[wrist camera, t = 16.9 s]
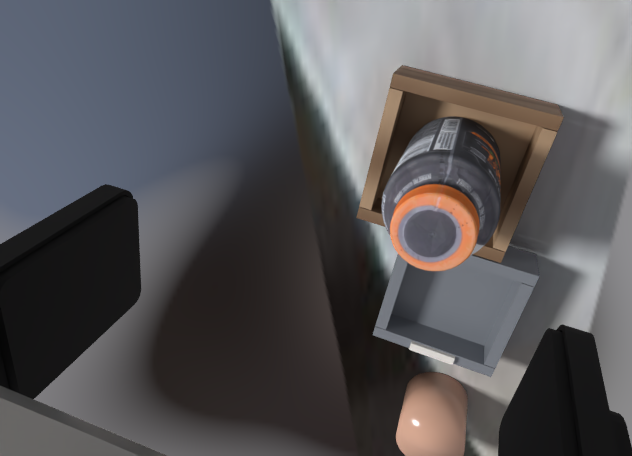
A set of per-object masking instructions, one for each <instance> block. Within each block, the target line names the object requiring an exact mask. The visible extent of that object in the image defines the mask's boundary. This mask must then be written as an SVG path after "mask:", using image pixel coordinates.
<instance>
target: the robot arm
mask: <svg viewBox="0 0 632 456" xmlns="http://www.w3.org/2000/svg"><path fill="white" fill-rule="evenodd" d="M138 228H139V226H138V205H137V202H136V200H135V199H133V196H132V194H131V193H130V192H129V191H127V190H124V189H121V188H118V187H114V186H111V185H106V184H105V185H103V186H100V187H99V188H97V189H95V190H94V191H92V192H90V193H88V194H87V195H85V196H83V197H82V198H80V199H78V200H76V201H74V202H73V203H71V204H69V205H68V206H66V207H64V208H62V209H61V210H59V211H57V212H55V213H54V214H52V215H50V216H49V217H47V218H45V219H43V220H42V221H40V222H38V223H36V224H35V225H33V226H31V227H30V228H28V229H26V230H24V231H23V232H21V233H19V234H17V235H16V236H14V237H12V238H10V239H9V240H7V241H5V242H4V243H2V244H0V456H167V455H165V454H162V453H160V452H157V451H155V450H153V449H150V448H148V447H146V446H143V445H141V444H139V443H136V442H134V441H132V440H129V439H127V438H124V437H122V436H120V435H117V434H115V433H113V432H110V431H108V430H105V429H103V428H101V427H98V426H96V425H93V424H91V423H89V422H86V421H84V420H82V419H79V418H77V417H74V416H72V415H69V414H67V413H65V412H62V411H59V410H57V409H55V408H53V407H50V406H48V405H45V404H43V403H40V402H38V401H36V400H33V399H34V398H35V397H36V396H37V395H39V394H40V393H41V392H42V391H43V390H44V389H45V388H46V387H47V386H48V385H49V384H50V383H51V382H52V381H53V380H55V378H57V377H58V376H59V375H60V374H61V373H62V372H63V371H64V370H65V369H66V368H67V367H68V366H69V365H70V364H72V363H73V362H74V361H75V360H76V359H77V358H78V357H79V356H80V355H81V354H82V353H83V352H84V351H85V350H86V349H88V347H90V346H91V345H92V344H93V343H94V342H95V341H96V340H97V339H98V338H99V337H100V336H101V335H102V334H103V333H105V332H106V331H107V330H108V329H109V328H110V327H111V326H112V325H113V324H114V323H115V322H116V321H117V320H118V319H119V318H120V317H122V316H123V315H124V314H125V313H126V312H127V311H128V310H129V309H130V308H131V307H132V306H133V305H134V304H135V303H136V302H137V300H138V298H139V296H140V292H141V278H140V276H141V275H140V253H139V229H138ZM498 456H632V447H631V443H630V439H629V435H628V430H627V426H626V423H625V421H624V418H623V417H622V416H621V415H620V414H619V413H616V412H612V411H610V410H609V406H608V401H607V396H606V391H605V386H604V382H603V377H602V373H601V367H600V363H599V358H598V353H597V348H596V344H595V339H594V336H593V335H592V334H591V333H588V332H585V331H581V330H578V329H575V328H572V327H568V326H565V325H560V326H559V327H558V329H557V330H553V329H550V328H549V329H547V330H546V332H545V334H544V336H543V338H542V340H541V342H540V344H539V346H538V348H537V350H536V352H535V354H534V356H533V358H532V360H531V362H530V364H529V366H528V368H527V370H526V372H525V374H524V376H523V378H522V380H521V382H520V384H519V386H518V388H517V390H516V392H515V394H514V396H513V398H512V400H511V402H510V404H509V406H508V408H507V410H506V412H505V414H504V416H503V419H502V422H501V425H500V430H499V448H498Z"/></svg>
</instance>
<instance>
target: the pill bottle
mask: <svg viewBox="0 0 632 456" xmlns="http://www.w3.org/2000/svg"><path fill="white" fill-rule="evenodd" d="M500 173H501V160H500V151H499V148H498V145H497V143H496V141H495V139H494V137H493V136H492V135H491V133H490V132H489V131H487V130H486V129H485V128H484V127H483V126H482V125H480V124H479V123H477V122H475V121H473V120H470V119H467V118H463V117H457V116H449V117H443V118H439V119H436V120H433V121H431V122H429V123H427V124H426V125H424V126H423V127H422V128H421V129H420V130H419V131H417V133H416V134H415V135H414V136H413V138H412V139H411V141H410V142H409V144H408V146H407V148H406V150H405V151H404V153H403V155H402V157H401V159H400V161H399V162H398V164H397V166H396V168H395V169H394V171H393V173H392V175H391V177H390V178H389V180H388V182H387V184H386V187H385V189H384V193H383V196H382V204H381V206H382V217H383V221H384V224H385V226H386V229H387V231H388V233H389V234H390V236H391V240H392V243H393V246H394V248H395V250H396V251H397V252H398V254H399V255H400V256H401V257H402V258H403V259H404V260H405V261H407V262H408V263H409V264H411V265H413V266H415V267H417V268H419V269H422V270H427V271H445V270H448V269H452V268H454V267H457V266H458V265H460V264H461V263H463V262H464V261H465V260H466V259H467V258H468V257H469V256H470V255H472V254H474V253H476V252H477V251H478V250H480V249H481V248H482V247H483V246H484V245H485V244H486V243H487V242H488V241H489V240H490V238H491V237H492V235H493V234H494V232H495V230H496V228H497V225H498V222H499V217H500V209H501V208H500V202H501V194H500V191H501V185H500V181H501V175H500Z"/></svg>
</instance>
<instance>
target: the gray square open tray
mask: <svg viewBox="0 0 632 456" xmlns="http://www.w3.org/2000/svg"><path fill="white" fill-rule="evenodd" d="M538 279H539V270H538V263H537V256H536V254H533V253H530V252H526V251H523V250H520V249H517V248H513V247H510V246H508V248H507V250H506V252H505V254H504V257H503V259H502V261H501V263H499V262H496V261H493V260H489V259H486V258H483V257H480V256H477V255H473V254H472V255H470V256H469V257H468V258H467V259H466V260H465V261H464V262H463V263H461V264H460V265H458V266H457V267H454V268H452V269H448V270H445V271H427V270H422V269H419V268H417V267H415V266H413V265H411V264H409V263H408V262H407V261H405V260H404V259H403V258H402V257H401V256H400V255H399V254H398V255H397V258H396V262H395V265H394V268H393V271H392V275H391V278H390V281H389V284H388V287H387V291H386V294H385V297H384V300H383V303H382V307H381V310H380V313H379V316H378V319H377V323H376V326H375V329H374V332H373V335H374V336H377V337H380V338H383V339H385V340H388V341H391V342H394V343H397V344H399V345H402V346H405V347H408V348H409V350H412V351H415V352H417V353H420V354H423V355H426V356H429V357H431V358H434V359H437V360H440V361H443V362H445V363H448V364H451V365H453V364H456V365H458V366H461V367H464V368H467V369H470V370H473V371H475V372H478V373H481V374H484V375H487V376H489V377H491V376H492V374H493V372H494V370H495V368H496V366H497V363H498V361H499V359H500V357H501V355H502V353H503V351H504V349H505V347H506V345H507V343H508V341H509V339H510V337H511V335H512V332H513V330H514V328H515V326H516V324H517V322H518V320H519V318H520V316H521V314H522V312H523V310H524V308H525V306H526V303H527V301H528V299H529V297H530V295H531V293H532V291H533V289H534V287H535V285H536V283H537V281H538Z"/></svg>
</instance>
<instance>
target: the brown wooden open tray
mask: <svg viewBox="0 0 632 456" xmlns="http://www.w3.org/2000/svg"><path fill="white" fill-rule="evenodd" d="M449 116H457V117H463V118H467V119H470V120H473V121H475V122H477V123H479V124H480V125H482V126H483V127H484V128H485V129H486V130H487V131H489V132H490V133H491V135H492V136H493V137H494V139H495V141H496V143H497V145H498V148H499V151H500V160H501V173H500V175H501V181H500V185H501V191H500V194H501V202H500V208H501V209H500V217H499V222H498V225H497V228H496V230H495V232H494V234H493V235H492V237H491V238H490V240H489V241H488V242H487V243H486V244H485V245H484V246H483V247H482V248H481V249H480V250H478V251H477V252H476V253H474V254H473V255H477V256H480V257H483V258H486V259H489V260H493V261H496V262H499V263H501V261H502V259H503V257H504V254H505V252H506V250H507V248H508V245H509V243H510V241H511V238H512V236H513V234H514V231H515V229H516V227H517V224H518V222H519V220H520V217H521V215H522V213H523V210H524V208H525V206H526V204H527V201H528V199H529V197H530V194H531V192H532V190H533V187H534V185H535V183H536V180H537V178H538V176H539V173H540V171H541V169H542V166H543V164H544V162H545V160H546V157H547V155H548V153H549V150H550V148H551V146H552V143H553V141H554V139H555V136H556V134H557V131H558V129H559V127H560V125H561V122H562V120H563V118H564V117H563V115H562V113H561V110H560V108H559V106H558V105H557V104H553V103H549V102H545V101H541V100H537V99H533V98H529V97H526V96H522V95H518V94H514V93H510V92H506V91H502V90H498V89H494V88H490V87H486V86H482V85H478V84H474V83H470V82H466V81H462V80H458V79H454V78H451V77H447V76H443V75H439V74H435V73H431V72H427V71H423V70H419V69H415V68H411V67H407V66H403V65H402V66H401V67H400V68H399V69H398V70H396V71H395V72H394V73H393V77H392V81H391V84H390V88H389V92H388V96H387V100H386V104H385V108H384V112H383V116H382V120H381V124H380V128H379V132H378V135H377V139H376V143H375V147H374V151H373V155H372V159H371V163H370V167H369V171H368V175H367V179H366V183H365V186H364V190H363V194H362V198H361V202H360V206H359V210H358V214H357V218H359V219H362V220H365V221H368V222H372V223H375V224H378V225H381V226H384V227H386V226H385V224H384V221H383V217H382V206H381V204H382V196H383V193H384V189H385V187H386V184H387V182H388V180H389V178H390V177H391V175H392V173H393V171H394V169H395V168H396V166H397V164H398V162H399V161H400V159H401V157H402V155H403V153H404V151H405V150H406V148H407V146H408V144H409V142H410V141H411V139H412V138H413V136H414V135H415V134H416V133H417V131H419V130H420V129H421V128H422V127H423V126H424V125H426V124H427V123H429V122H431V121H433V120H436V119H439V118H443V117H449Z"/></svg>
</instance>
